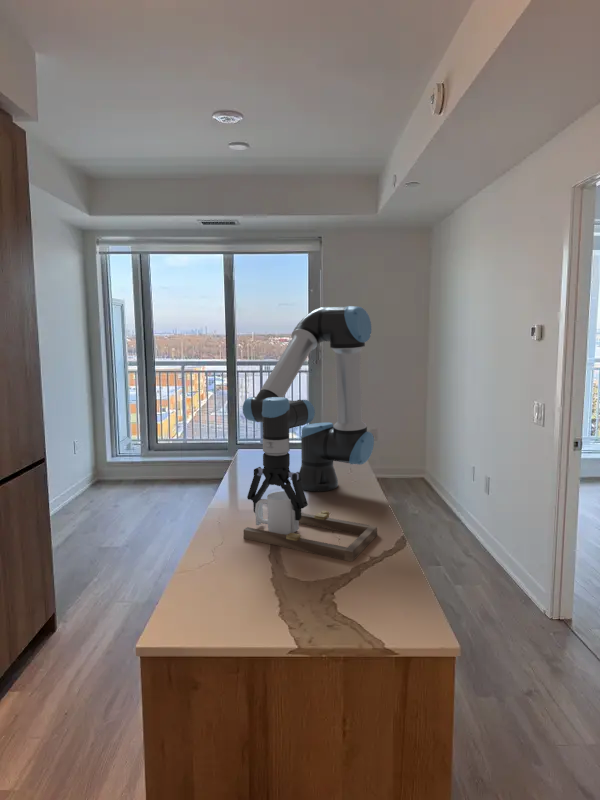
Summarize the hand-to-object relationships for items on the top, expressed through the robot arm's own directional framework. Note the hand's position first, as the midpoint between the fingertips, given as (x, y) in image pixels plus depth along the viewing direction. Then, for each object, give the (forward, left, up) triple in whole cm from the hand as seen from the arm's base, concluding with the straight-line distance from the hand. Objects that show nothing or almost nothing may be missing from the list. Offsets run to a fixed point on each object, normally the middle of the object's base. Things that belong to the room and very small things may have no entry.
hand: (277, 527), depth 150 cm
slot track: (-1, +11, -1) cm, 11 cm away
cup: (0, 0, -1) cm, 1 cm away
